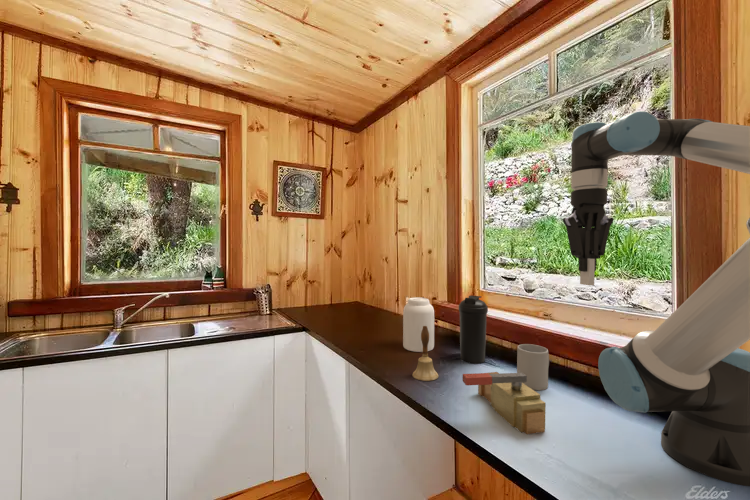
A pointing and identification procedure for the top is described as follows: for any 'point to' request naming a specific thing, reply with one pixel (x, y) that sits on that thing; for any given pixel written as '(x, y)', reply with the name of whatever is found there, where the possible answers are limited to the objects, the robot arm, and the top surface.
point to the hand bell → (425, 361)
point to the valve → (516, 406)
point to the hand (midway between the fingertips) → (587, 284)
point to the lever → (496, 379)
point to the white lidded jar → (417, 323)
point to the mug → (533, 365)
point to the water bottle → (473, 329)
